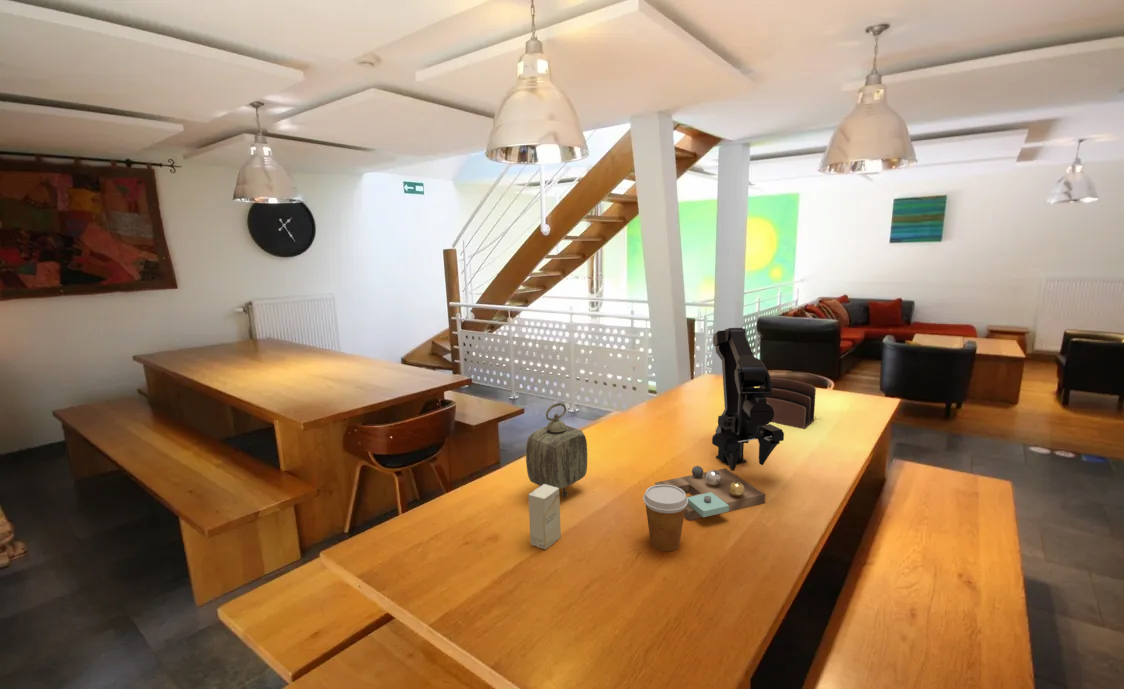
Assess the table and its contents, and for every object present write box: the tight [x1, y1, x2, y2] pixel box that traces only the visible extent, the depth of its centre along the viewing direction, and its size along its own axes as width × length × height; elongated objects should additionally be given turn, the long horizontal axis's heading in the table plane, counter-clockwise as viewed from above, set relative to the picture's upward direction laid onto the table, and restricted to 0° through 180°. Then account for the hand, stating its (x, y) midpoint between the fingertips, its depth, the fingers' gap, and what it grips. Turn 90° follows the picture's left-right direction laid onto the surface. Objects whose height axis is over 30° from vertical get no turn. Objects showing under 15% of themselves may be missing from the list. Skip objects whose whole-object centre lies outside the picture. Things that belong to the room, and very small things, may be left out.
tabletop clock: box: [525, 402, 588, 498], centre depth 137 cm, size 14×9×25 cm, turn 135°
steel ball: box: [705, 469, 721, 486], centre depth 136 cm, size 4×4×4 cm
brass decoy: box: [729, 482, 745, 497], centre depth 131 cm, size 4×4×4 cm
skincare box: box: [527, 484, 562, 550], centre depth 117 cm, size 6×4×12 cm
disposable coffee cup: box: [642, 484, 688, 553], centre depth 115 cm, size 10×10×12 cm
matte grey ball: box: [691, 465, 704, 477], centre depth 141 cm, size 3×3×3 cm
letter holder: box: [757, 376, 817, 430], centre depth 188 cm, size 10×20×14 cm, turn 47°
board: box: [654, 467, 766, 522], centre depth 136 cm, size 22×16×2 cm
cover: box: [686, 492, 730, 518], centre depth 126 cm, size 7×7×2 cm
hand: (746, 467), depth 140 cm, fingers open, 9 cm apart
